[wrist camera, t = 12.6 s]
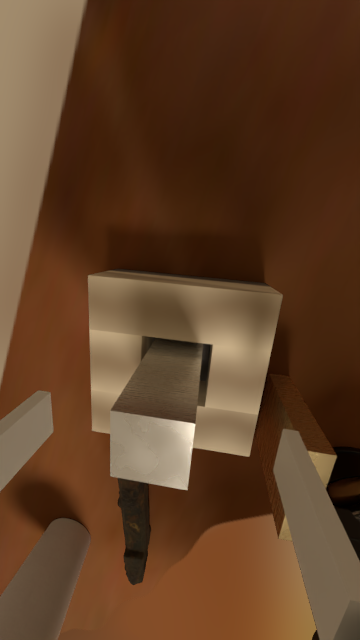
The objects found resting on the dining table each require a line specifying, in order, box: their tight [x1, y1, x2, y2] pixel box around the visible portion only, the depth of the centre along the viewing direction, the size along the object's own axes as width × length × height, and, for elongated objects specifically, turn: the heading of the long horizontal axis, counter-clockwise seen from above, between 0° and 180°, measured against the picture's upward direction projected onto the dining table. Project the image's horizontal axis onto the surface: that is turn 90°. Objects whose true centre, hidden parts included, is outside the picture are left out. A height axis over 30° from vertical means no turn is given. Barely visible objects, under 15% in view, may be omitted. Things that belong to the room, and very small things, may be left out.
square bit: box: [110, 338, 203, 490], centre depth 18 cm, size 4×4×12 cm
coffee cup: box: [0, 518, 91, 640], centre depth 29 cm, size 10×10×15 cm
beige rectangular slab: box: [255, 373, 337, 541], centre depth 21 cm, size 8×2×10 cm, turn 175°
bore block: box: [88, 269, 283, 457], centre depth 22 cm, size 14×14×6 cm
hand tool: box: [118, 478, 151, 585], centre depth 30 cm, size 19×4×5 cm, turn 178°
